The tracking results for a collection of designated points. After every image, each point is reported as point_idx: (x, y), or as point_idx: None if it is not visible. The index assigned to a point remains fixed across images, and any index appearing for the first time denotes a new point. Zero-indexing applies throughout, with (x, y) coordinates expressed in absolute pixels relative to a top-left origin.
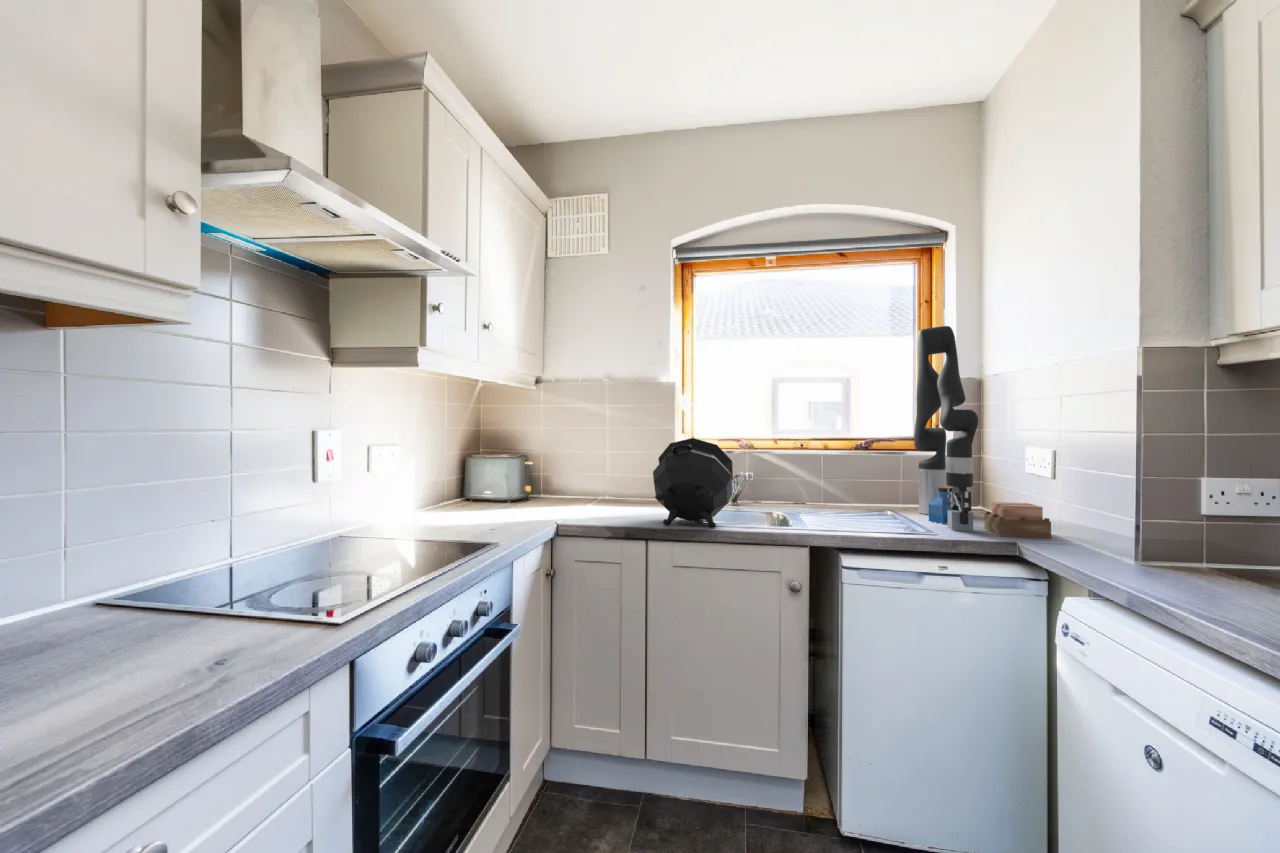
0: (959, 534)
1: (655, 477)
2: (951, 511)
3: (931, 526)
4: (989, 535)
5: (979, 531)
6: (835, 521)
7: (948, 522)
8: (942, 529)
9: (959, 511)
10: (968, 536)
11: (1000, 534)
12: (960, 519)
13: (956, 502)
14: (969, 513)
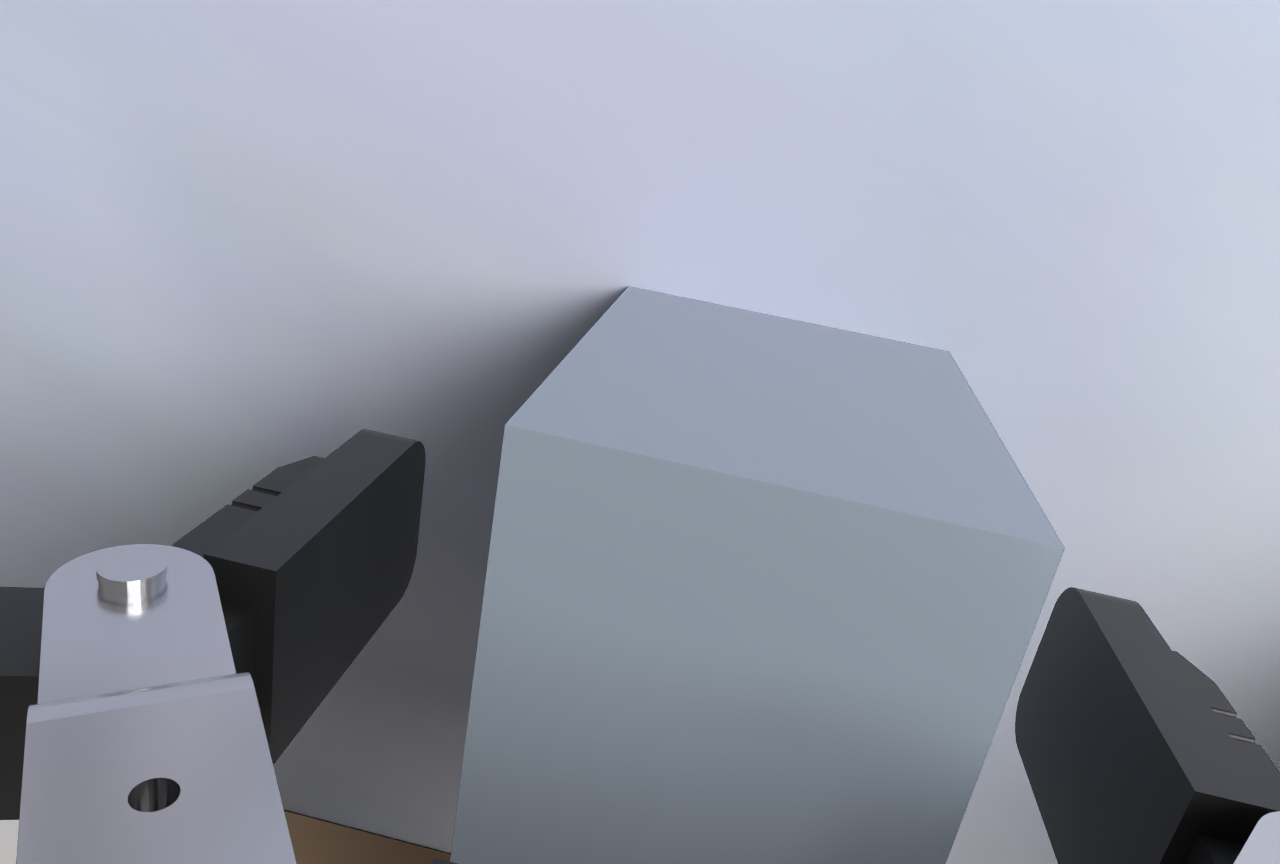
0: (182, 211)
1: None
2: (617, 471)
3: (1252, 57)
4: None
5: None
6: None
7: (896, 380)
8: (772, 139)
9: (657, 740)
10: (11, 276)
11: None
12: (319, 463)
13: (180, 766)
14: (457, 859)
